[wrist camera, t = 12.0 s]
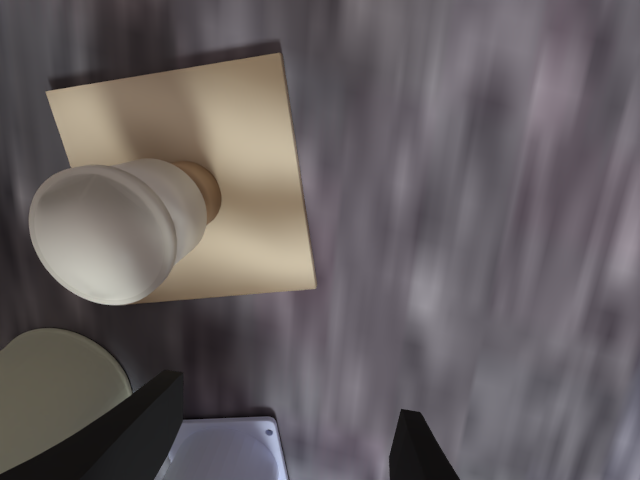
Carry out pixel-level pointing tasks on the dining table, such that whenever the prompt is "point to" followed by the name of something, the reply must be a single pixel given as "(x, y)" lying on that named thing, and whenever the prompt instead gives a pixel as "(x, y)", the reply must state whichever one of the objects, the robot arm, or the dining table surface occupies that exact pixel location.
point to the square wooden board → (208, 166)
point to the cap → (116, 227)
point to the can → (53, 390)
